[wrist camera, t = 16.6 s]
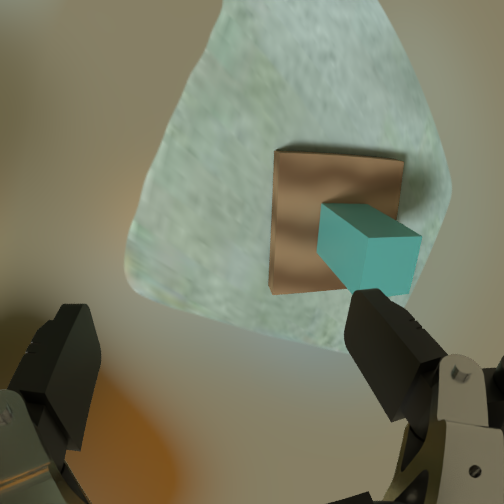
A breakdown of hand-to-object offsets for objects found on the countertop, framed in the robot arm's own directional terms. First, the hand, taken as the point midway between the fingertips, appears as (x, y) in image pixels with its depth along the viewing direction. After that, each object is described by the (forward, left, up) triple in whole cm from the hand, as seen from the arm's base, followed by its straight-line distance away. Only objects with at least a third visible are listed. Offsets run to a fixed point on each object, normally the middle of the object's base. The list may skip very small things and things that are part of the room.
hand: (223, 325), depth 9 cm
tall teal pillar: (+6, +16, -25) cm, 30 cm away
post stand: (+6, +16, -28) cm, 33 cm away
